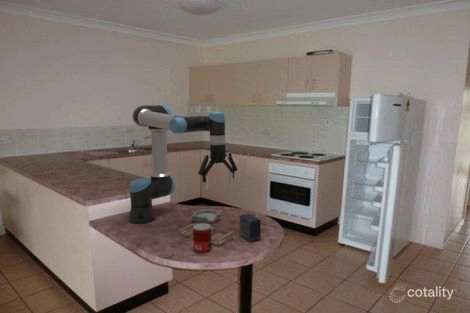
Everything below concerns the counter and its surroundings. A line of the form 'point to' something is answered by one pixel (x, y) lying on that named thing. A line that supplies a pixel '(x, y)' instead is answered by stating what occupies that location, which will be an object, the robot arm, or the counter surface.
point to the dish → (205, 216)
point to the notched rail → (216, 238)
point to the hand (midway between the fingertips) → (218, 187)
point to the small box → (250, 227)
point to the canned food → (202, 237)
